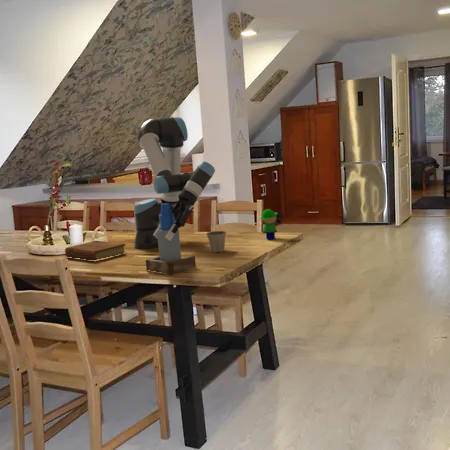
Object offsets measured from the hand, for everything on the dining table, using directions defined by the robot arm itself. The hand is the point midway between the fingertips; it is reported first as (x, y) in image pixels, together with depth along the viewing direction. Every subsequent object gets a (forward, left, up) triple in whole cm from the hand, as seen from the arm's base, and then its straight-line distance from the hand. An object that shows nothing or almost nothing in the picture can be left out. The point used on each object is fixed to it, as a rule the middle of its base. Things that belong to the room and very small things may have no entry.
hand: (161, 237), depth 246 cm
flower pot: (-5, +38, -14) cm, 41 cm away
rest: (+1, +3, -14) cm, 14 cm away
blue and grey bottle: (+1, +3, -11) cm, 12 cm away
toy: (+1, +70, -14) cm, 72 cm away
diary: (-56, +6, -15) cm, 59 cm away
